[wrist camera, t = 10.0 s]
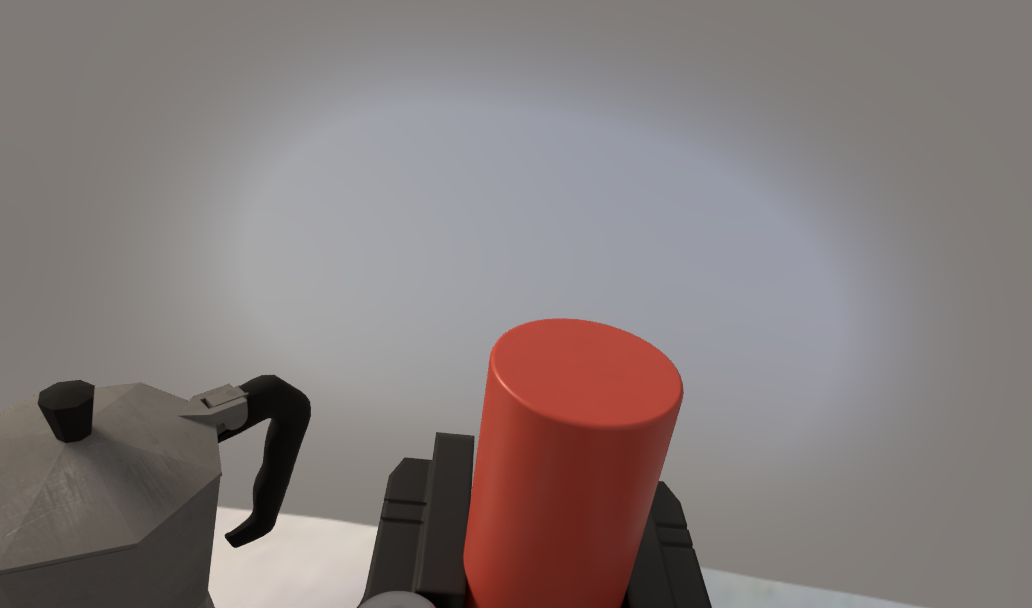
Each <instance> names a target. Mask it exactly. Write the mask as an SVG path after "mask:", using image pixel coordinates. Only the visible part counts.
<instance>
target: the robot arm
mask: <svg viewBox="0 0 1032 608" xmlns="http://www.w3.org/2000/svg"><path fill="white" fill-rule="evenodd" d="M473 454H474V436H470V435H460V434H449V433H439V432H436V438H435V445H434V453H433V460H425V459H415V458H404V459H403V460H402V461H401V463H400V464H399V465H398V466H397V467H396V468H395V470H394V471H393V472H392V473H391V474H390V476H389V479H388V483H387V488H386V494H385V498H384V503H383V508H382V513H381V518H380V522H379V527H378V531H377V536H376V541H375V546H374V551H373V556H372V560H371V565H370V570H369V575H368V580H367V584H366V589H365V593H364V596H363V598H362V600H361V602H360V604H359V606H358V607H357V608H463V607H464V600H465V592H466V573H465V568H464V558H463V555H464V547H465V540H466V532H467V525H468V517H469V510H470V502H471V489H472V472H473ZM692 545H693V544H692V540H691V537H690V533H689V530H687V523H686V520H685V517H684V513H683V510H682V507H681V503H680V502H679V500H678V499H677V498H676V497H675V495H674V494H673V493H672V492H671V490H670V489H669V488H668V487H667V485H666V484H665V483H664V482H662V481H658V485H657V488H656V491H655V495H654V498H653V502H652V505H651V508H650V512H649V515H648V519H647V522H646V525H645V529H644V532H643V536H642V539H641V542H640V546H639V549H638V553H637V556H636V559H635V563H634V566H633V570H632V573H631V576H630V580H629V583H628V587H627V590H626V593H625V597H624V600H623V604H622V607H621V608H712V606H711V603H710V600H709V596H708V593H707V590H706V586H705V583H704V580H703V576H702V573H701V570H700V566H699V563H698V560H697V557H696V553H695V550H694V549H693V548H692Z"/></svg>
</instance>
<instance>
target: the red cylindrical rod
mask: <svg viewBox="0 0 1032 608" xmlns="http://www.w3.org/2000/svg"><path fill="white" fill-rule="evenodd" d="M682 399H683V383H682V380H681V376H680V374H679V372H678V370H677V368H676V367H675V366H674V364H673V363H672V362H671V361H670V360H669V358H668V357H667V356H666V355H664V354H663V353H662V352H661V351H660V350H659V349H657V348H656V347H654V346H653V345H651V344H650V343H648V342H647V341H645V340H643V339H641V338H639V337H637V336H635V335H633V334H631V333H629V332H626V331H624V330H621V329H618V328H615V327H612V326H609V325H605V324H601V323H597V322H592V321H585V320H578V319H544V320H537V321H532V322H528V323H525V324H522V325H519V326H517V327H515V328H513V329H511V330H509V331H508V332H506V333H505V334H503V335H502V337H500V338H499V339H498V341H497V342H496V344H495V345H494V347H493V348H492V351H491V354H490V360H489V368H488V375H487V383H486V391H485V398H484V405H483V413H482V421H481V428H480V436H479V443H478V451H477V458H476V465H475V472H474V480H473V487H472V495H471V502H470V510H469V517H468V525H467V532H466V540H465V547H464V555H463V558H464V568H465V573H466V592H465V600H464V607H463V608H621V607H622V604H623V600H624V597H625V593H626V590H627V587H628V583H629V580H630V576H631V573H632V570H633V566H634V563H635V559H636V556H637V553H638V549H639V546H640V542H641V539H642V536H643V532H644V529H645V525H646V522H647V519H648V515H649V512H650V508H651V505H652V502H653V498H654V495H655V491H656V488H657V485H658V481H659V478H660V474H661V471H662V468H663V464H664V461H665V457H666V454H667V451H668V447H669V444H670V440H671V437H672V433H673V430H674V427H675V423H676V420H677V416H678V413H679V410H680V406H681V403H682Z"/></svg>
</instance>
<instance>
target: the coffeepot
mask: <svg viewBox="0 0 1032 608" xmlns="http://www.w3.org/2000/svg"><path fill="white" fill-rule="evenodd" d="M310 417H311V406H310V401H309V399H308V398H307V397H306V395H305V394H303V393H302V392H301V391H300V390H298V389H296V388H295V387H293V386H292V385H290V384H288V383H287V382H285V381H284V380H282V379H280V378H279V377H276V376H275V375H261V376H259V377H256V378H254V379H252V380H250V381H248V382H247V383H245V384H243V385H241V386H236V387H232V386H231V385H230V384H227V385H224V386H222V387H219V388H216V389H213V390H210V391H207V392H204V393H202V394H199V395H196V396H193V397H192V398H191V399H190V401H188V400H185V399H182V398H180V397H177V396H175V395H172V394H169V393H167V392H164V391H162V390H159V389H156V388H154V387H151V386H149V385H146V384H143V383H132V384H124V385H116V386H107V387H99V388H95V386H94V385H91V384H89V383H87V382H84V381H81V380H75V381H66V382H58V383H56V384H54V385H52V386H51V387H48V388H47V389H45V390H43V391H41V392H40V394H39V395H33V396H31V397H29V398H28V399H26V400H24V401H22V402H20V403H18V404H17V405H15V406H13V407H11V408H9V409H7V410H6V411H4V412H2V413H1V414H0V608H215V607H214V604H213V602H212V599H211V597H210V594H209V592H208V583H209V574H210V565H211V556H212V547H213V538H214V529H215V520H216V511H217V502H218V493H219V484H220V477H221V476H222V472H221V463H220V455H219V446H218V443H220V442H222V441H224V440H226V439H228V438H230V437H233V436H235V435H237V434H239V433H241V432H243V431H245V430H247V429H248V428H250V427H252V426H254V425H256V424H257V423H259V422H261V421H263V420H265V419H267V418H271V422H270V425H269V427H268V431H267V435H266V440H265V447H264V457H263V464H262V466H261V468H260V471H259V472H258V474H257V476H256V479H255V483H254V486H253V506H254V507H253V512H252V513H251V515H250V517H249V518H248V519H247V520H245V521H244V522H243V523H242V524H240V525H239V526H238V527H237V528H235V529H234V530H232V531H231V532H229V533H226V534H225V538H226V539H227V541H228V542H229V543H230V544H231V546H232V547H234V548H237V547H240V546H242V545H245V544H247V543H250V542H252V541H254V540H256V539H258V538H260V537H262V536H264V535H266V534H267V533H269V532H270V531H271V530H272V529H273V527H274V526H275V523H276V519H277V516H278V513H279V510H280V507H281V505H282V502H283V499H284V496H285V493H286V489H287V487H288V484H289V481H290V478H291V474H292V471H293V468H294V464H295V461H296V458H297V455H298V452H299V449H300V446H301V443H302V440H303V438H304V435H305V432H306V430H307V427H308V424H309V420H310Z"/></svg>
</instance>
